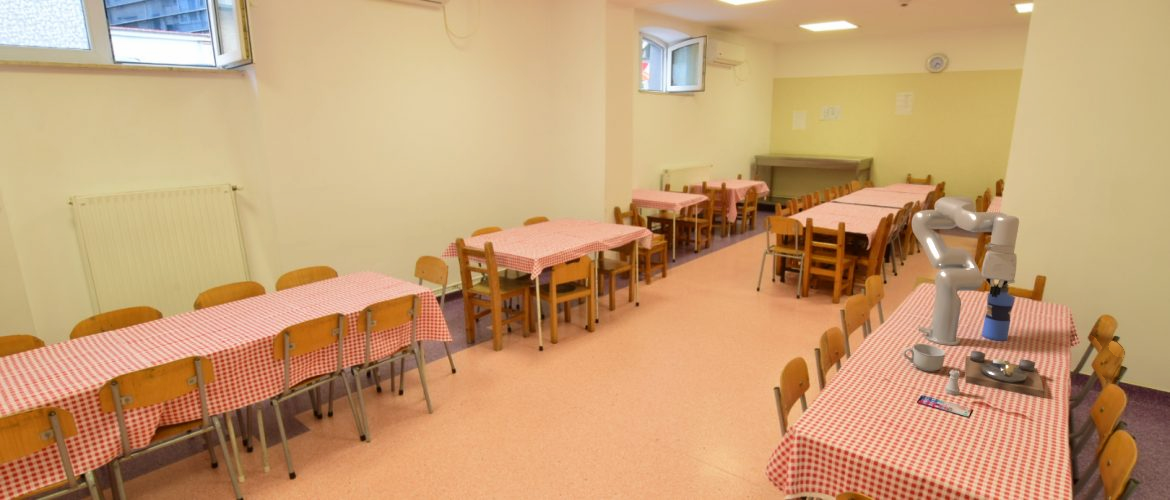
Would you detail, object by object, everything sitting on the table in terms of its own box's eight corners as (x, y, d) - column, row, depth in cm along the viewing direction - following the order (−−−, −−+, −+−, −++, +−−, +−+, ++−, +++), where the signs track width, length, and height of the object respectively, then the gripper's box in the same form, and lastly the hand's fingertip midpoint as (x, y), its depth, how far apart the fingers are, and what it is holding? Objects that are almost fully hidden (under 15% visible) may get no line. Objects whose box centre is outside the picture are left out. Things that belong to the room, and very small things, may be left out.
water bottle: (984, 339, 246) (993, 283, 240) (979, 332, 254) (987, 278, 249) (1010, 342, 242) (1020, 286, 237) (1004, 335, 251) (1013, 280, 245)
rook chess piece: (954, 396, 194) (958, 374, 192) (941, 391, 198) (944, 369, 196) (962, 393, 196) (965, 372, 194) (949, 388, 200) (952, 367, 198)
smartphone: (969, 417, 179) (915, 402, 189) (969, 419, 180) (915, 404, 189) (973, 408, 185) (921, 394, 195) (973, 410, 185) (921, 396, 195)
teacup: (940, 365, 219) (943, 346, 217) (944, 376, 209) (947, 356, 208) (899, 359, 225) (902, 340, 223) (901, 370, 215) (904, 350, 213)
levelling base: (965, 382, 205) (967, 368, 203) (965, 361, 223) (967, 348, 221) (1043, 397, 193) (1045, 382, 192) (1035, 374, 211) (1038, 360, 210)
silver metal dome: (1030, 386, 196) (1033, 369, 194) (985, 379, 201) (988, 363, 199) (1019, 371, 207) (1022, 356, 206) (977, 365, 212) (979, 350, 211)
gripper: (977, 248, 212) (970, 295, 216) (1028, 253, 204) (1019, 302, 208) (977, 244, 218) (970, 290, 222) (1026, 249, 211) (1017, 297, 214)
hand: (994, 296), depth 215 cm, fingers closed
